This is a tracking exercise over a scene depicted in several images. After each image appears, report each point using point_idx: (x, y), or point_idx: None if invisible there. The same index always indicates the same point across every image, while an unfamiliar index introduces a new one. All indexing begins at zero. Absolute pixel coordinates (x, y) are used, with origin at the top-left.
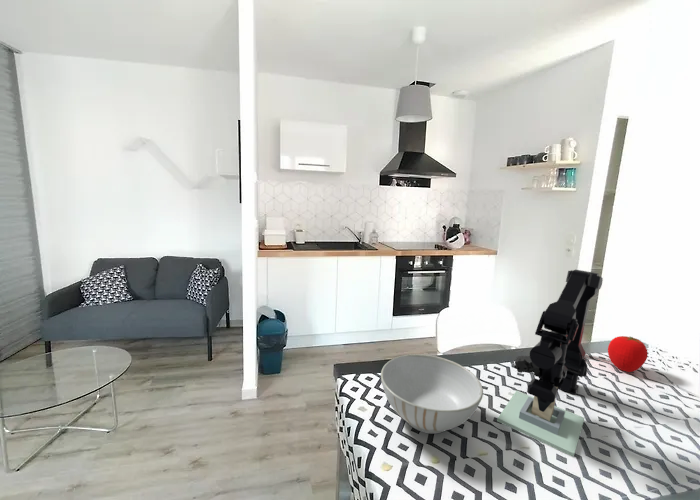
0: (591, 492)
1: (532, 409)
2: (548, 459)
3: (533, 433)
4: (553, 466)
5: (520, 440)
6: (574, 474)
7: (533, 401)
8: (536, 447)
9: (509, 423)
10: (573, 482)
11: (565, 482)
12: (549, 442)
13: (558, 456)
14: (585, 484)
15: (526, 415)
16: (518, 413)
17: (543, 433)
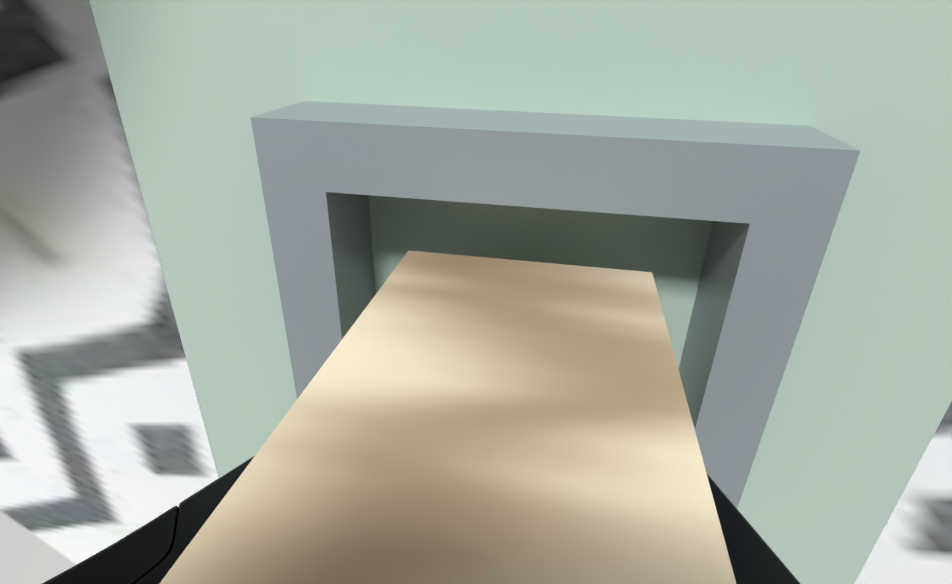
0: (70, 553)
1: (389, 284)
2: (80, 387)
3: (184, 287)
4: (52, 413)
5: (62, 185)
6: (110, 503)
7: (332, 359)
8: (113, 310)
9: (99, 27)
10: (47, 495)
11: (5, 464)
12: (200, 404)
13: (171, 437)
14: (94, 538)
15: (273, 212)
16: (402, 71)
17: (269, 361)
